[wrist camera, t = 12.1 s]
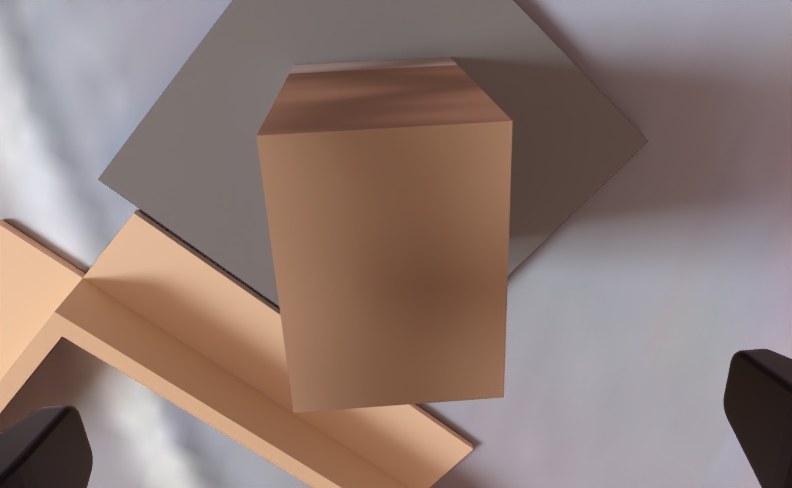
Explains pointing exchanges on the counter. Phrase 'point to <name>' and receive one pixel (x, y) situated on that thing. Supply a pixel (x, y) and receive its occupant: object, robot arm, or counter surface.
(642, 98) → the counter surface
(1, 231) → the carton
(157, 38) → the counter surface
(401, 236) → the walnut box
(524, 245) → the rubber mat
